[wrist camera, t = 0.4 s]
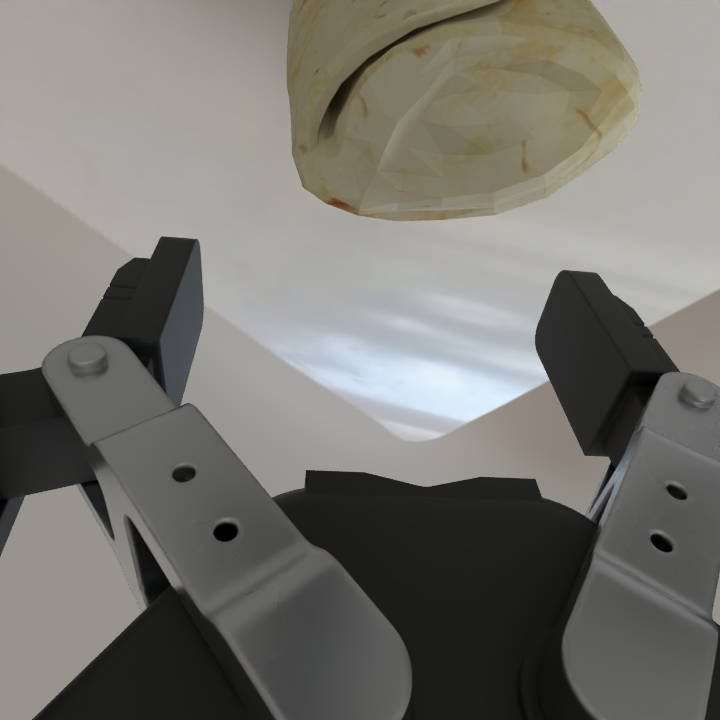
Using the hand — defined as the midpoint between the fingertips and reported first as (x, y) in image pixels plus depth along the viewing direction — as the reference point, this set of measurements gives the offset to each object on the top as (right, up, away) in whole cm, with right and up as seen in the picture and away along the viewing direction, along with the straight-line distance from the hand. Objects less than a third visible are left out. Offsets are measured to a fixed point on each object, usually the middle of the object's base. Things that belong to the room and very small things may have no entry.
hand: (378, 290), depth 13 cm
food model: (+1, +18, +14) cm, 23 cm away
